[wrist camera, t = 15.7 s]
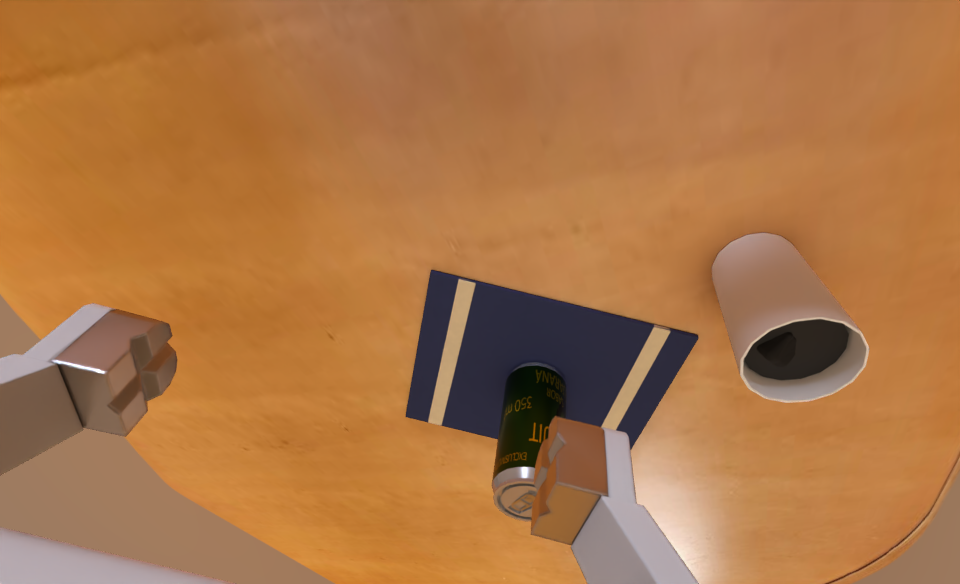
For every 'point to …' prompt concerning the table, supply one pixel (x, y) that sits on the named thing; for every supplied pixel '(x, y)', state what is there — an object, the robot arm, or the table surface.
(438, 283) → the cloth
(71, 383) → the robot arm
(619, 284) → the table surface
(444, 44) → the table surface
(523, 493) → the green drink can
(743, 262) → the white coffee cup
